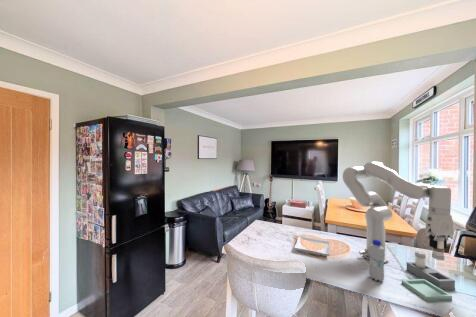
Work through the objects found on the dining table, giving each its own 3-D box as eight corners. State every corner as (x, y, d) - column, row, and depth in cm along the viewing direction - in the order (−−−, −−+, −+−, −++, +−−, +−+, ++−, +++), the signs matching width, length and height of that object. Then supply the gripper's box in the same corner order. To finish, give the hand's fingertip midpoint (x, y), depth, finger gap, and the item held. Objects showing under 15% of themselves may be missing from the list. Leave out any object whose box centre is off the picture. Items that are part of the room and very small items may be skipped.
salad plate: (298, 240, 146) (298, 235, 146) (329, 246, 137) (329, 241, 137) (293, 252, 127) (294, 247, 127) (329, 260, 118) (329, 254, 118)
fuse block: (454, 288, 92) (455, 280, 92) (439, 289, 92) (439, 281, 92) (419, 269, 109) (420, 261, 109) (406, 269, 108) (406, 262, 108)
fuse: (420, 275, 103) (420, 255, 103) (412, 271, 107) (412, 251, 107) (428, 275, 103) (428, 255, 103) (419, 270, 107) (420, 251, 107)
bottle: (365, 275, 103) (365, 237, 103) (377, 274, 103) (377, 237, 103) (375, 283, 96) (376, 243, 96) (388, 282, 96) (388, 242, 96)
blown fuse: (438, 260, 94) (438, 237, 94) (429, 256, 98) (429, 234, 98) (447, 260, 94) (447, 237, 94) (437, 255, 98) (437, 234, 99)
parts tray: (426, 301, 84) (426, 296, 84) (401, 283, 96) (401, 279, 96) (452, 299, 85) (452, 295, 85) (424, 282, 97) (424, 278, 97)
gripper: (431, 213, 92) (430, 251, 92) (463, 213, 93) (462, 251, 93) (415, 208, 99) (414, 244, 99) (446, 209, 100) (444, 243, 101)
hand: (437, 247), depth 96 cm, fingers closed on blown fuse, 4 cm apart
